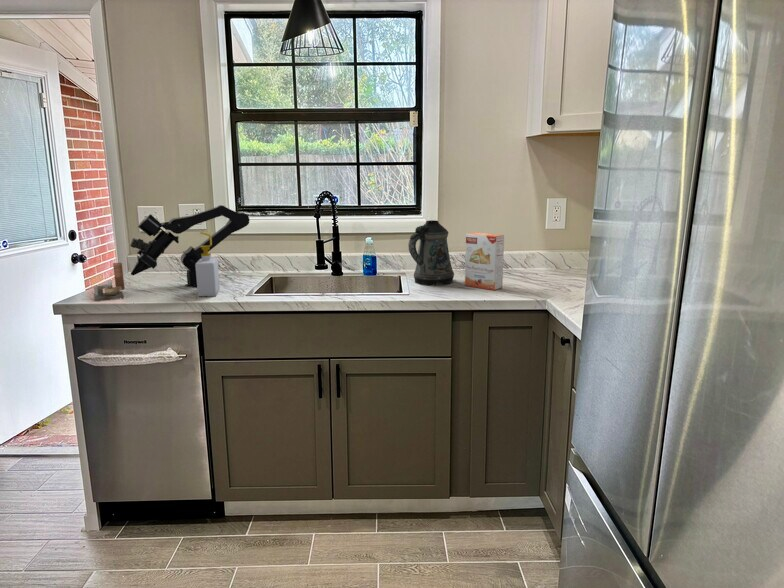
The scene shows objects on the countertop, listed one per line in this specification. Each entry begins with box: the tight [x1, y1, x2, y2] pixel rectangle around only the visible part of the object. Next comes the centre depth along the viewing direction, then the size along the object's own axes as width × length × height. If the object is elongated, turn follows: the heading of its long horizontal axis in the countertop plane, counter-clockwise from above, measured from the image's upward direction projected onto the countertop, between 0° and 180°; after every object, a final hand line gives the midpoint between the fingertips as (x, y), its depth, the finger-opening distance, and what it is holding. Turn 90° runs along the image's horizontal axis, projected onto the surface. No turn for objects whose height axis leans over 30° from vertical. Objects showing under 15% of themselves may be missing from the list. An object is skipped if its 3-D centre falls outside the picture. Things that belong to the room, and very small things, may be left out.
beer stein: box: [407, 219, 455, 287], centre depth 231 cm, size 16×19×25 cm
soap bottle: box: [195, 231, 221, 297], centre depth 215 cm, size 12×7×23 cm, turn 10°
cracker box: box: [464, 231, 505, 291], centre depth 221 cm, size 14×6×21 cm, turn 47°
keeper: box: [93, 280, 113, 296], centre depth 211 cm, size 6×7×6 cm
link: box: [104, 262, 126, 295], centre depth 214 cm, size 12×4×10 cm, turn 5°
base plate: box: [93, 290, 125, 302], centre depth 212 cm, size 10×9×1 cm
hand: (131, 274), depth 220 cm, fingers closed
